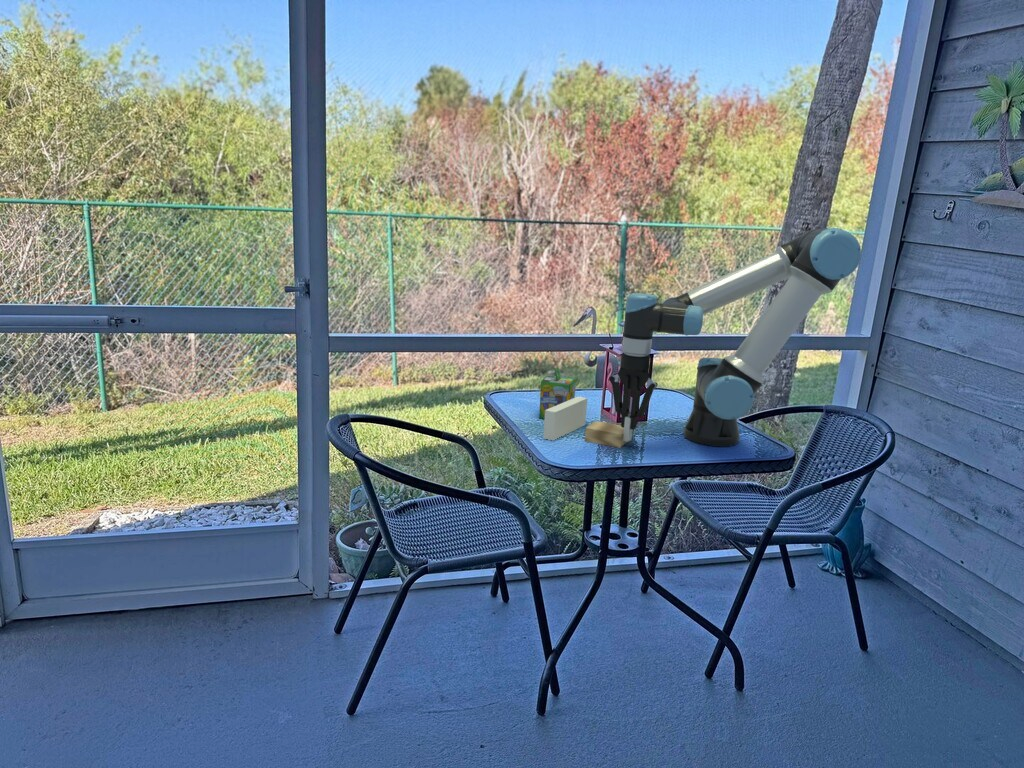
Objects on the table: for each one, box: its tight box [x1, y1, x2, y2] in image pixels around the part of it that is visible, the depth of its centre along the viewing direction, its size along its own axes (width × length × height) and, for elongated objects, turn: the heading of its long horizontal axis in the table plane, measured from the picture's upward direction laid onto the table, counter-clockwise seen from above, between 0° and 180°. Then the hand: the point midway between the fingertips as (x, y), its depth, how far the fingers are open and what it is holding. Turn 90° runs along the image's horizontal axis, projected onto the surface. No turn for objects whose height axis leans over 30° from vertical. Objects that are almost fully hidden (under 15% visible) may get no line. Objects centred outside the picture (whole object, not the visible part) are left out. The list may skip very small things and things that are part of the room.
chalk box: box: [538, 366, 577, 420], centre depth 219 cm, size 9×9×15 cm
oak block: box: [584, 420, 627, 449], centre depth 200 cm, size 10×8×4 cm
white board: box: [542, 396, 588, 442], centre depth 205 cm, size 3×20×8 cm, turn 149°
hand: (627, 439), depth 197 cm, fingers closed
